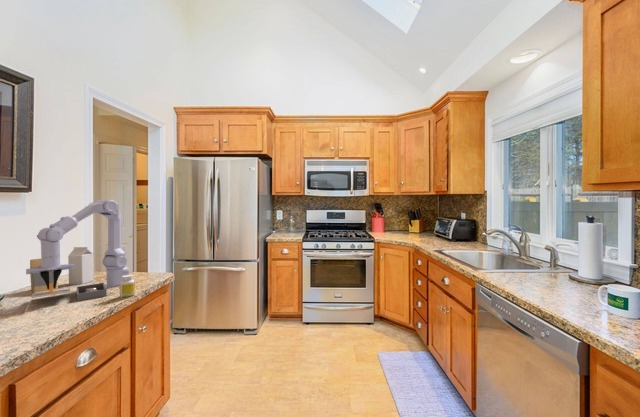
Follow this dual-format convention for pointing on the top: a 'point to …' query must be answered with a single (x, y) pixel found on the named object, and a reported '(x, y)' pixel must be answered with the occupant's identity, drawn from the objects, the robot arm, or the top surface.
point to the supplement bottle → (127, 287)
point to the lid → (51, 291)
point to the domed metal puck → (90, 289)
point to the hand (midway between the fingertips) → (51, 288)
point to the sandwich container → (39, 278)
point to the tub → (90, 295)
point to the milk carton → (80, 266)
